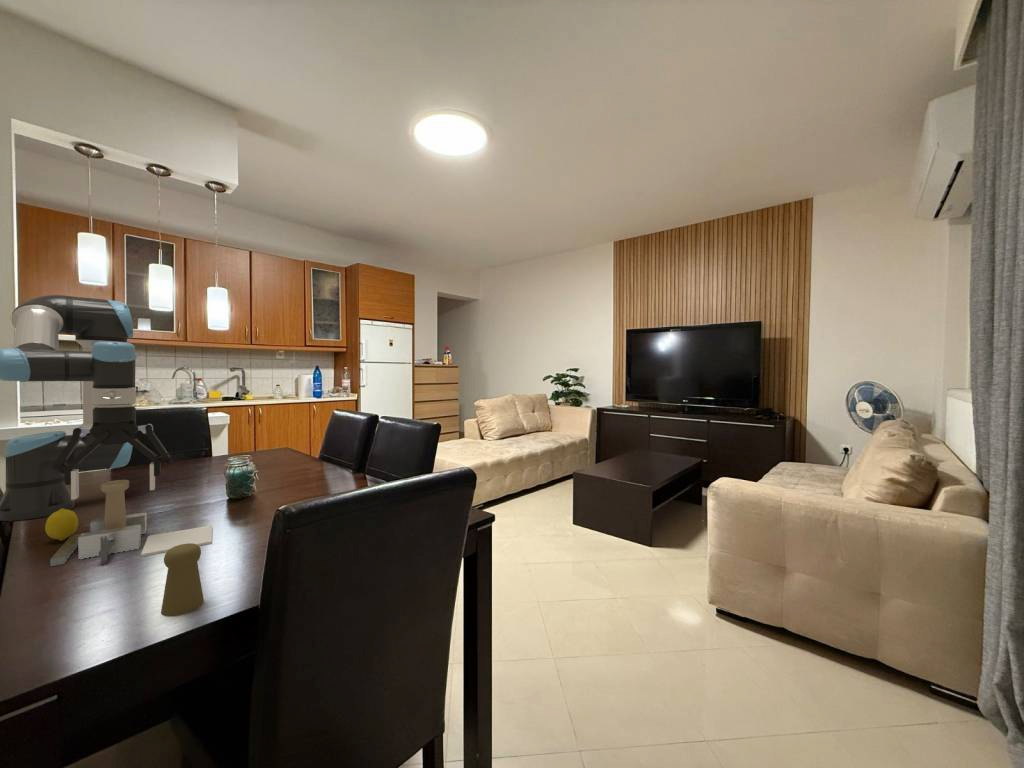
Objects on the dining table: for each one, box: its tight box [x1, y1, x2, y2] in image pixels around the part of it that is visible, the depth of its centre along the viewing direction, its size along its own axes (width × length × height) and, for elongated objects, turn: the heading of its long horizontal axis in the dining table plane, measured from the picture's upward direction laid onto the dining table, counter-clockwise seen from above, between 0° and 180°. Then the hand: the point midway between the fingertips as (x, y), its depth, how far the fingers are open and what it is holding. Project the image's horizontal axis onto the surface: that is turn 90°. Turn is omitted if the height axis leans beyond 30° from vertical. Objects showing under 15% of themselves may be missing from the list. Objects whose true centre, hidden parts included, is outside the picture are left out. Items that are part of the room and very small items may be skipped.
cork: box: [160, 543, 205, 617], centre depth 74 cm, size 6×6×11 cm
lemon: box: [44, 508, 79, 542], centre depth 101 cm, size 6×6×8 cm
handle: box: [100, 479, 130, 530], centre depth 100 cm, size 5×6×15 cm
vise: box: [49, 512, 148, 567], centre depth 96 cm, size 21×14×7 cm, turn 36°
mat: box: [140, 524, 213, 557], centre depth 102 cm, size 13×13×1 cm
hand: (115, 493), depth 99 cm, fingers open, 13 cm apart
